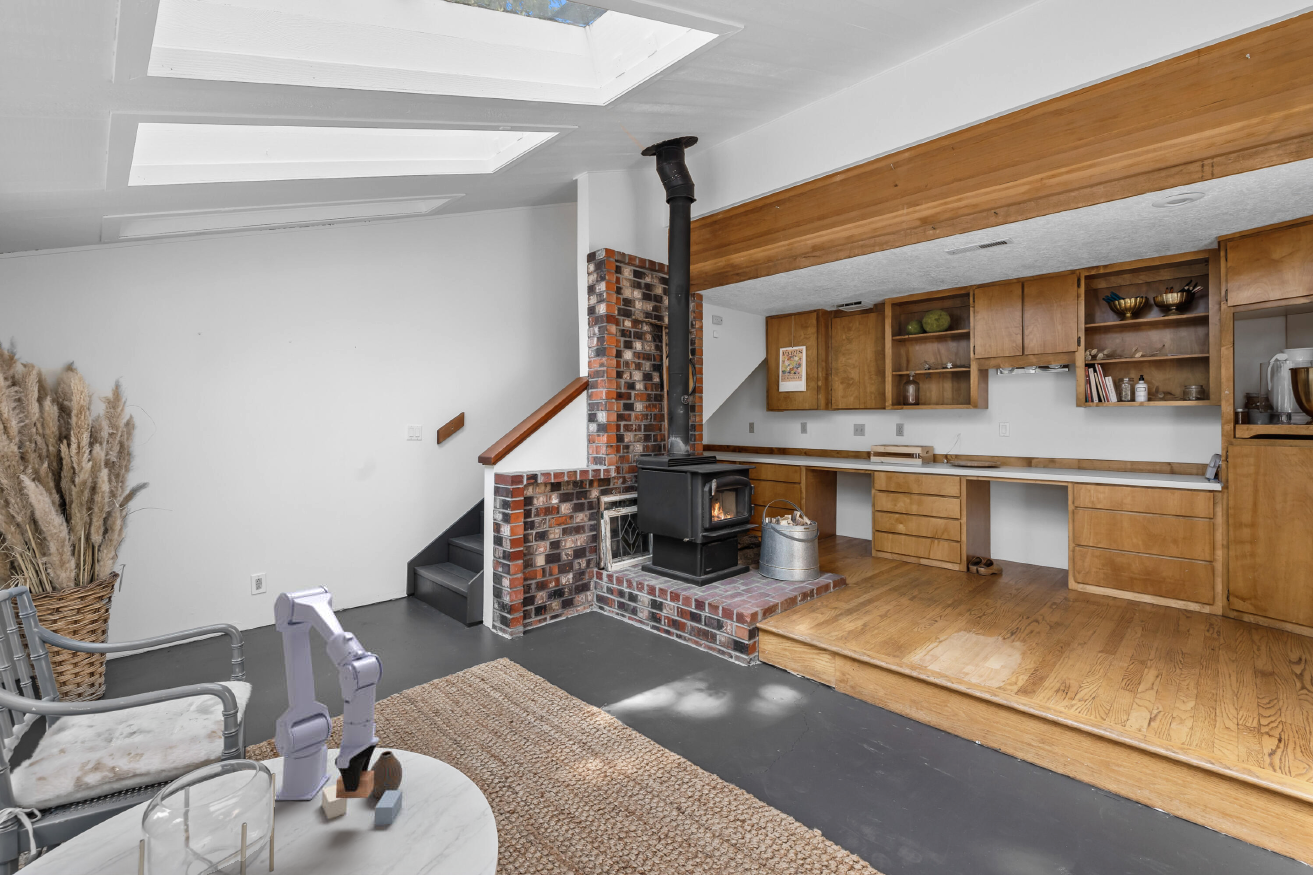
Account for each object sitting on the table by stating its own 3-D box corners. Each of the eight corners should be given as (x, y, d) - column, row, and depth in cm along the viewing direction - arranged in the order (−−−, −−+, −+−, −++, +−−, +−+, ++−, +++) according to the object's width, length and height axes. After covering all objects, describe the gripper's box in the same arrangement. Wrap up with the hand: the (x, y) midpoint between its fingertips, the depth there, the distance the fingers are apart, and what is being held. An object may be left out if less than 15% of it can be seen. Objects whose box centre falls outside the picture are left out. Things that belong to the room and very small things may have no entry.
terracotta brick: (335, 798, 118) (336, 779, 118) (343, 788, 121) (344, 770, 121) (366, 797, 118) (367, 779, 118) (373, 787, 122) (374, 770, 122)
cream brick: (321, 805, 125) (322, 788, 125) (339, 799, 127) (340, 783, 128) (328, 819, 121) (329, 802, 121) (346, 813, 123) (347, 796, 123)
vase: (392, 803, 127) (394, 762, 127) (361, 801, 127) (363, 760, 127) (406, 785, 134) (408, 746, 134) (377, 783, 134) (378, 744, 134)
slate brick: (385, 807, 126) (385, 790, 126) (401, 807, 126) (402, 790, 126) (374, 825, 120) (375, 807, 120) (391, 824, 120) (392, 807, 120)
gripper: (364, 735, 113) (361, 806, 113) (391, 702, 128) (388, 765, 127) (326, 735, 113) (322, 806, 112) (357, 702, 127) (354, 765, 127)
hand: (355, 784), depth 120 cm, fingers closed on terracotta brick, 3 cm apart
